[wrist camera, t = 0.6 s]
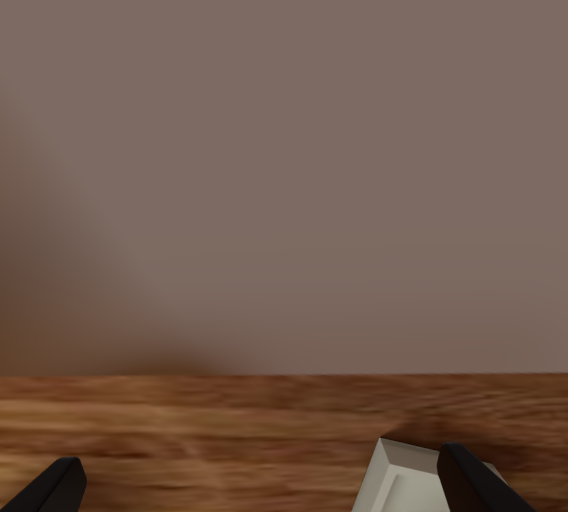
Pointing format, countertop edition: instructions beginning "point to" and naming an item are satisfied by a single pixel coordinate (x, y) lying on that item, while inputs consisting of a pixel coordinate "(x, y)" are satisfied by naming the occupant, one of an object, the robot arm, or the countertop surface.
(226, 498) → the countertop surface
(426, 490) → the bin
